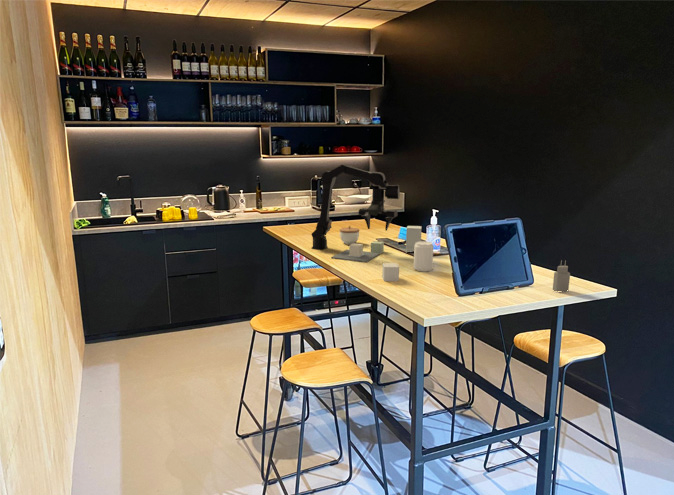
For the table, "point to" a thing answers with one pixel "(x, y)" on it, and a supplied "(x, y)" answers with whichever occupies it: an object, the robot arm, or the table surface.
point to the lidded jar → (349, 235)
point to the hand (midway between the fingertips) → (377, 229)
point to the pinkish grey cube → (390, 271)
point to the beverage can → (423, 256)
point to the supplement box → (412, 237)
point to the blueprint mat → (363, 258)
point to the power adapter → (561, 278)
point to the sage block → (377, 247)
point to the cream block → (355, 249)
